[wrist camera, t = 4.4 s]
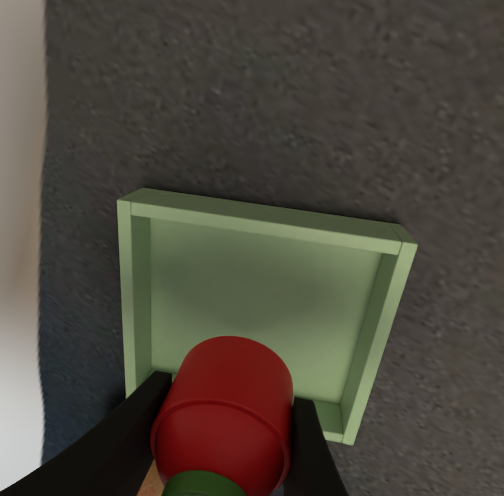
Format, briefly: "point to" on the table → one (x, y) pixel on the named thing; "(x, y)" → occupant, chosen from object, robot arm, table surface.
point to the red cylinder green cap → (225, 422)
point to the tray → (262, 291)
